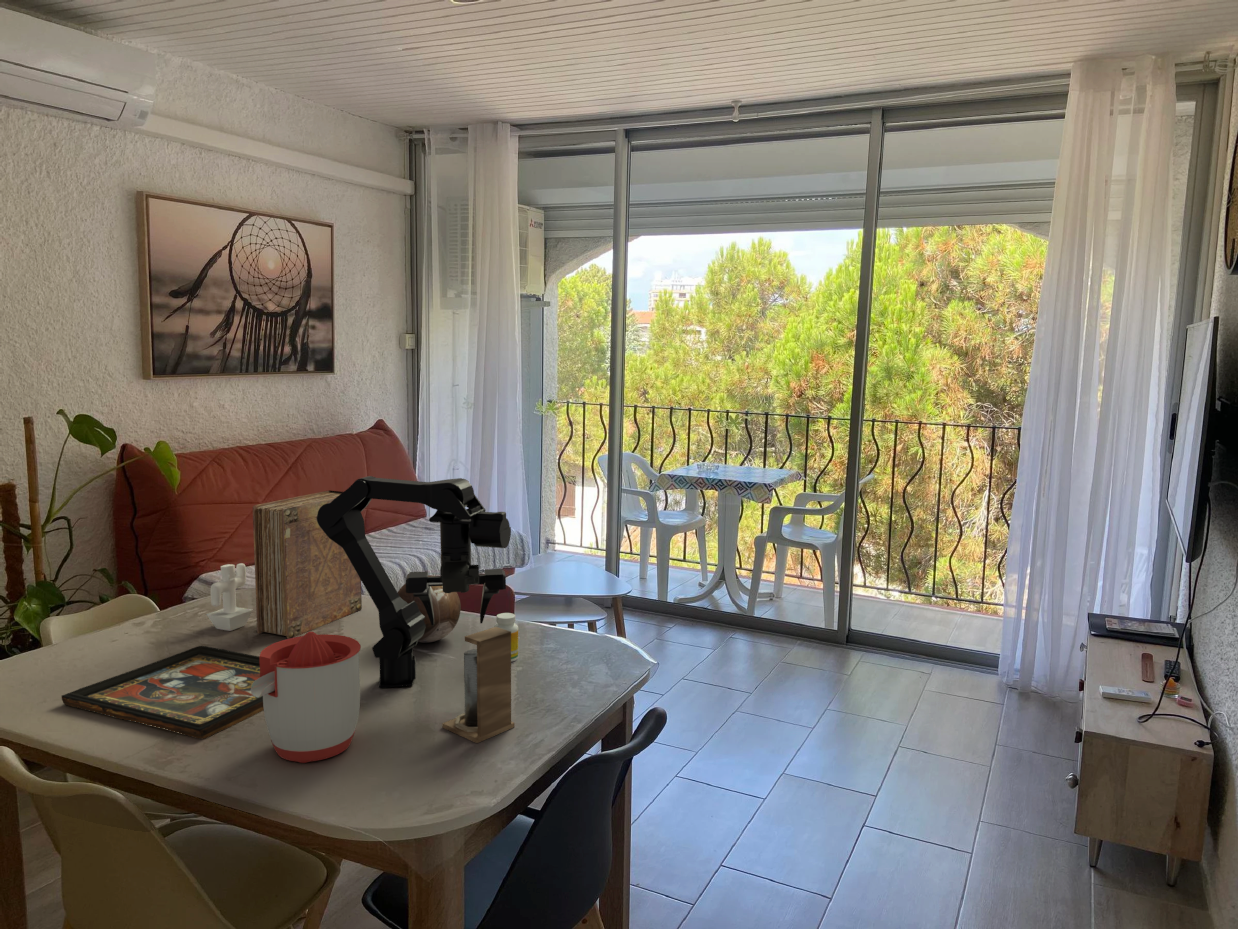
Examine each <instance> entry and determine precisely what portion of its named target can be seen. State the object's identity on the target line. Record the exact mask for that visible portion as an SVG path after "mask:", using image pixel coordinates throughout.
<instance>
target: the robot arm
mask: <svg viewBox="0 0 1238 929" xmlns="http://www.w3.org/2000/svg"><path fill="white" fill-rule="evenodd" d="M342 492H343V493H342V494H340V495H339V496H338V497H336V498H335V499H334V500H333V501H332V502H330V503H327V504H324V505H323V506H321V507H320V509H319V511H318V515H317V517H316V518H317V522H318V525H319V526H320V528H321V529H322V530H323V531H324V533H325V534H326V535H327V536H328V538H329V539H331V540H332V541H334V542H335V543H336V544H338V545H339V546H341V547H342V548H343V550H344V551H345V553H346V555H347V557H348V558H349V560H350V562H351V564H352V565H353V567H354V569H355V571H356V572H357V574H358V576H359V578H360V579H361V584H362V585H363V586H364V588H365V590H366V592H367V593H368V595H369V596H370V597H369V598H371V600H372V602H373V604H374V605H375V607H376V609H377V611H378V619H379V620H378V621H379V622H378V623H379V629H380V631H381V633H382V634H381V635H382V637H381V638H380V639H379V640H378V641H377V642H376V643H375V644H374V645H373V646H372V647H371V649H372V652H373V655H374V657H375V659H378V660H379V661H378V662H379V664H378V666H379V682H378V688H380V689H381V688H396V687H397V688H398V687H400V688H401V687H412V686H413V685H414V681H415V680H416V678H417V657H416V655H414V651H413V650H414V647H416V646H417V644H418V643H419V642H418V639H420V638H421V637H422V636H423V634H424V631H425V628H426V626H425V622H424V620H423V619H424V618H425V616H424V615H423V614H422V613H421V612H420V610H419V608H418V605H417V603H416V602H415V601H413V602H411V603H409V604H408V603H407V602H405V601H404V600H403V599H401V597H400V596H399V594H398V591H397V589H396V588H395V586H394V583H393V582H392V580H391V579H390V577H389V575H388V573H387V571H386V569H385V568H384V567H383V564H382V562H380V559H379V558H378V556H377V554H376V552H375V551H374V548H373V547H372V546H371V544H370V542H369V540H368V538H367V537H366V532H365V531H366V528H365V520H364V518H363V517H364V516H363V515H362V512H363V511H364V510H365V509H366V508H367V507H368V506H369V504H370V503H371V501H372V500H384V501H395V502H403V503H404V502H405V503H414V504H422V505H425V506H427V507H429V508H431V509H433V510H436V511H435V513H434V514H433V515H432V516H431V517H429V518H428V521H429V522H430V523H439V526H440V528H439V530H440V531H439V533H440V535H439V536H440V568H439V573H440V574H439V575H437V576H436V575H432V576H428V575H429V572H428V571H427V570H425V571H409V573H408V574H407V575H406V579H405V583H406V593H413V596H414V597H419V598H420V600H421V601H422V603H423V605H424V606H425V609H426V611H427V614H428V617H429V619H430V622H431V625H432V626H434V612H433V605H432V597H431V590H430V586H443V592H444V593H451V592H457V593H462V594H464V593H467V592H469V591H470V586H472V585H473V586H476V585H477V586H478V585H482V586H483V587H482V591H481V592H482V593H481V594H482V596H481V603H480V610H479V611H480V612H479V624H483V622H484V620H485V616H486V613H487V609H488V607H489V604H490V601H491V599H492V598H493V596H494V595H495V594H496V595H497V594H499V593H500V590H501V591H502V590H506V589H507V584H506V582H507V581H506V580H507V578H506V577H507V576H506V571H505V570H504V569H503V568H490V569H488V568H485V569H484V574H480V565H479V564H472V544H473V545H474V546H475V547H477V548H492V549H493V548H495V549H506V548H508V546H509V544H510V540H511V535H512V534H511V533H512V527H511V525H510V521H509V519H508V518H507V512H506V511H492V512H491V511H486V508H485V507H484V506H483V504H482V503H481V501H480V500H479V499H478V497H477V496H476V494H475V489H474V487H473V485H472V484H471V483H470V481H469V480H467V479H465V478H461V477H459V478H449V479H442V480H436V481H435V480H434V481H418V480H407V479H394V478H384V477H383V478H382V477H376V476H372V475H370V476H369V475H368V476H364V477H359V478H358V479H356V480H355V481H354V482H353V483H352V484H351V485H350V486H349V487H348V488H347V489H345V491H342Z"/></svg>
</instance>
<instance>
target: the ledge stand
mask: <svg viewBox="0 0 1238 929" xmlns="http://www.w3.org/2000/svg"><path fill="white" fill-rule="evenodd" d="M464 642H467V643H469V644H472V645H475V646H476V649H477V722H478V727H470V726H467V725H466V724H465V712H464V713H461V714H459V715H457V716H456V717H455V718H452V719H450V720H447V721H445V722H442V724H441V726H442V729H444V730H447V731H449V732H451V733H454V734H455V735H458V736H460V737H463V738H465V739H466V740H469V741H471V742H473V743H475V744H479V743H481V742H484V741H485V740H488V739H490V738H493V737H495V736H497V735H499V734H501V733H504V732H507V731H508V730H510V729H513V728H515V726H516V725H515V724H516V723H515V722H513V721H512V662H511V631H507V630H504V629H501V628H498V627H494V626H493V627H491V628H487V629H484V630H482V631H481V630H480V631H477V632H474V633H471V634H468V635H465V636H464Z"/></svg>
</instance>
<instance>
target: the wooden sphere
mask: <svg viewBox="0 0 1238 929" xmlns="http://www.w3.org/2000/svg"><path fill="white" fill-rule="evenodd" d="M428 576H433V575H429V574H428ZM430 590H431V597H432V605H433V612H434V626H432V625H431V622H430V619H429V617H428V614H427V611H426V609H425V606H424V605H423V603H422V601H421V600H420V598H419V597H414V596H413V593H406V582H405V583H404V584H403V585H402V586H401V587H400V588H399V589H398V591H397V593H398V594H399V596H400V597H401V599H403V600H404V601H405V602H407V603H408V604H409V603H411V602H413V601H415V602H416V603H417V605H418V608H419V610H420V612H421V613H422V614H423V615H424V616H425V618H424V619H423V620H424V622H425V626H426V628H425V631H424V634H423V636H422V637H421V638H420V639H418V642H417V643H421V644H422V643H424V644H426V643H428V644H429V643H433V642H437V641H440V640H443V639H444V638H445V637H447V636H448V635H450V633H451V632H452V631H453V630H454V629H455V627H456V626H457V624H458V621H459V619H460V616H461V611H462V610H461V608H462V607H461V606H462V605H461V599H460V597H459V594H458V592H451V593H444V592H443V586H430Z"/></svg>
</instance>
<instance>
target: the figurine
mask: <svg viewBox="0 0 1238 929" xmlns="http://www.w3.org/2000/svg"><path fill="white" fill-rule="evenodd" d="M235 569H236V570H235ZM246 570H247V569H246V565H245V563H242V562H241V563H237V564H236V565H235V564H232V563H231V564H229V563H227V564H224V565H220V573H221V580H220V581H217V582H214V583H212V584H211V586H210V605H211V606H212V607H219V606H220V605H221V604H222V608H220V609H218V610H215V611H211V612H208V613H206V614H205V615H206V616H207V618H208V619H209V620H210V622H211V623H212V625H213V626H214V628H215V629H216V630H221V631H223V630H224V631H231V632H232V631H233V630H237V629H239V628H241V627H242V628H243V627H245V626H246V625H247V622H248V621H249V619H250V617H251V615H252V613H253V612H254V609H252V608H251V609H250V608H246V607H240V606H239V607H238V606H237V600H236V599H237V598H236V597H237V596H236V595H237V594H236V590H237V589H239V588H242V587H244V586H245V585H246V583H247V571H246ZM221 597H222V601H221ZM221 602H222V603H221Z"/></svg>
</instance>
